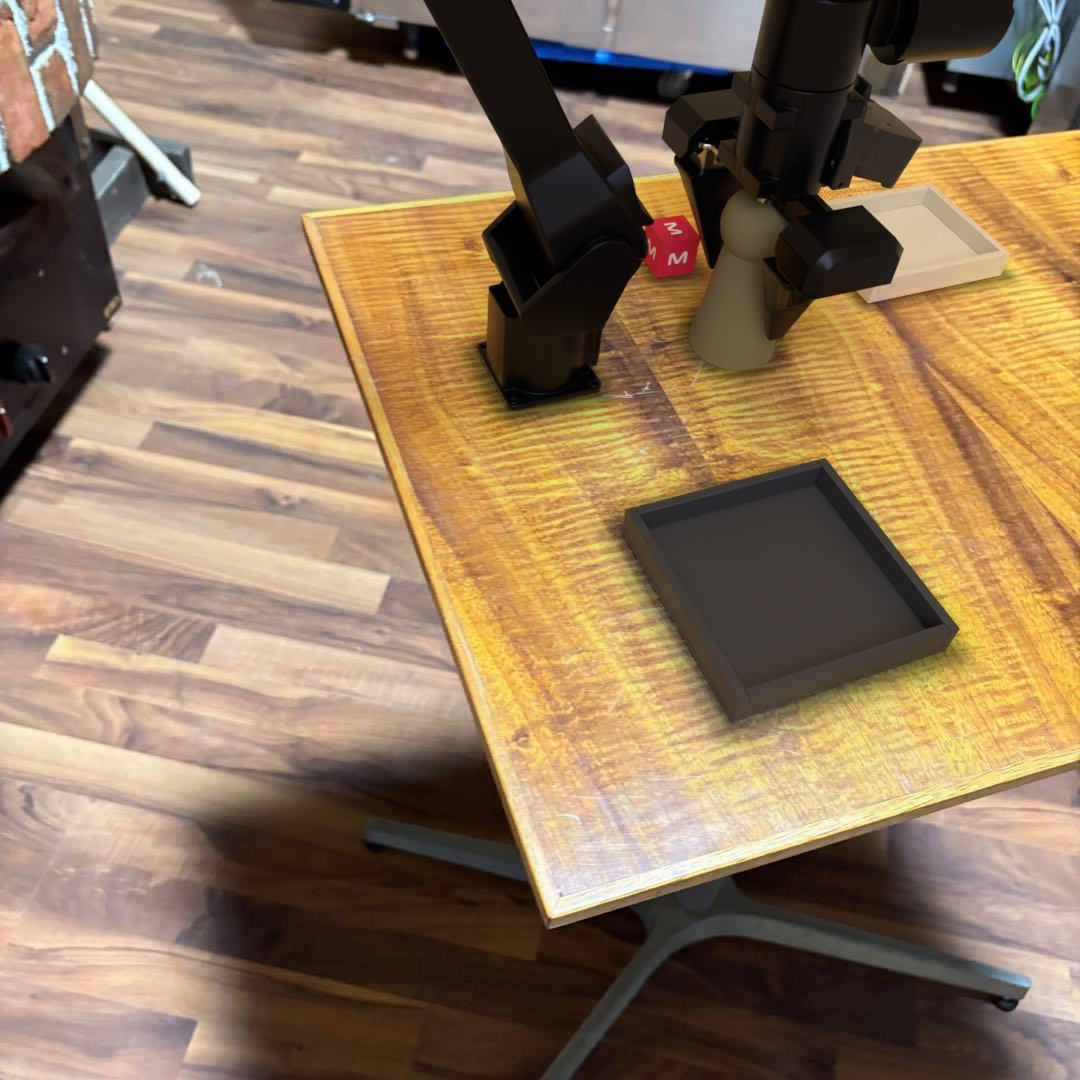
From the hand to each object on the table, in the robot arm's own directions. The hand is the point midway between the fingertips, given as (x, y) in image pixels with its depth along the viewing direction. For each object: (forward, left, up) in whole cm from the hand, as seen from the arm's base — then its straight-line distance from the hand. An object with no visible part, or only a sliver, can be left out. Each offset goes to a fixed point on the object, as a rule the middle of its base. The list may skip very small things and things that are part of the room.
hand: (744, 301), depth 68 cm
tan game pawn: (0, 0, -4) cm, 4 cm away
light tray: (+18, +6, -3) cm, 19 cm away
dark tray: (-8, -20, -3) cm, 22 cm away
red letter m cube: (0, +10, -4) cm, 10 cm away
